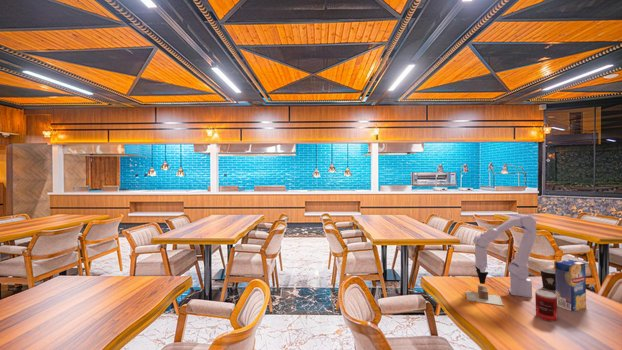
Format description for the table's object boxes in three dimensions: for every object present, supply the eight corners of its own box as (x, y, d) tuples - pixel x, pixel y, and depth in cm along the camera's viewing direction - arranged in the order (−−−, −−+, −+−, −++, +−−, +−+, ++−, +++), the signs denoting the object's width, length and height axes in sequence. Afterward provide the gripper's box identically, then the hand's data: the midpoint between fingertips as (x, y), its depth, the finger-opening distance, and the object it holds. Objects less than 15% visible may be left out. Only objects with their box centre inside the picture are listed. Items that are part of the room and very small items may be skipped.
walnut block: (486, 286, 157) (488, 292, 148) (486, 293, 156) (488, 299, 148) (477, 285, 158) (479, 291, 150) (478, 292, 158) (479, 298, 150)
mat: (499, 296, 153) (499, 296, 153) (503, 306, 142) (503, 305, 142) (466, 291, 160) (466, 291, 160) (467, 300, 149) (467, 299, 149)
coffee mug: (537, 287, 165) (537, 270, 165) (545, 284, 168) (545, 267, 168) (561, 294, 154) (561, 276, 154) (569, 291, 158) (569, 273, 158)
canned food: (548, 313, 134) (548, 290, 134) (562, 322, 126) (561, 297, 126) (531, 312, 135) (531, 289, 135) (543, 321, 127) (543, 297, 127)
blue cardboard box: (586, 307, 139) (585, 263, 139) (572, 311, 135) (571, 265, 135) (569, 301, 145) (568, 259, 145) (555, 305, 142) (554, 261, 142)
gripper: (472, 253, 168) (472, 276, 168) (473, 260, 155) (474, 284, 155) (485, 254, 165) (486, 277, 165) (488, 261, 152) (489, 286, 152)
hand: (481, 281), depth 160 cm, fingers open, 7 cm apart
